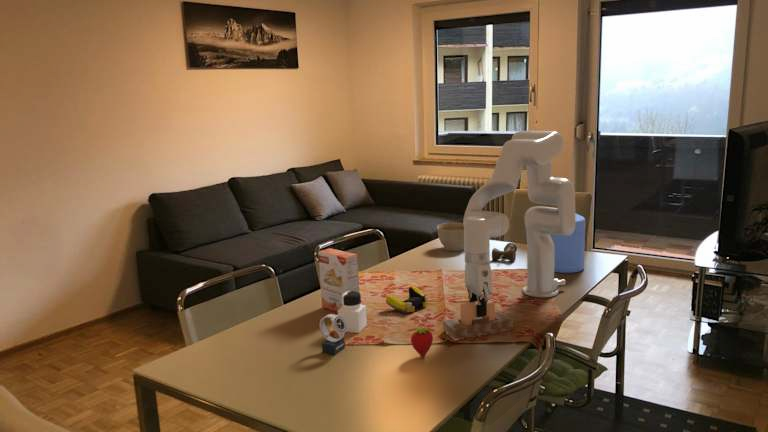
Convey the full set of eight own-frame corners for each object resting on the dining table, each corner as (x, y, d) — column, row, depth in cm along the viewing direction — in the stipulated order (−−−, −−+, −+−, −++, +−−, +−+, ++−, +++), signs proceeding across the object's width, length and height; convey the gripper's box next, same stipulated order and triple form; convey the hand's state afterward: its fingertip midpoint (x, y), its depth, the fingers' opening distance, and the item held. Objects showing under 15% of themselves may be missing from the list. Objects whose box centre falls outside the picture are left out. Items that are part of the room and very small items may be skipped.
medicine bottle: (367, 325, 201) (365, 290, 199) (359, 333, 195) (357, 297, 192) (346, 323, 204) (344, 288, 201) (338, 331, 197) (336, 295, 195)
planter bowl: (436, 253, 282) (435, 230, 280) (438, 244, 298) (438, 222, 295) (471, 253, 279) (471, 230, 277) (472, 244, 295) (472, 222, 293)
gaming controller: (383, 310, 214) (404, 317, 207) (383, 295, 213) (404, 301, 206) (412, 298, 225) (434, 304, 218) (412, 284, 224) (433, 289, 217)
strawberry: (407, 360, 174) (406, 327, 172) (418, 349, 181) (417, 317, 179) (426, 363, 172) (425, 329, 170) (437, 353, 178) (436, 320, 176)
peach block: (489, 326, 196) (489, 299, 194) (495, 329, 193) (494, 302, 191) (461, 331, 193) (460, 304, 191) (466, 335, 190) (465, 307, 188)
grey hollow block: (499, 321, 200) (499, 310, 199) (512, 329, 192) (512, 319, 192) (443, 331, 193) (443, 321, 193) (454, 341, 186) (454, 330, 185)
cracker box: (321, 308, 219) (317, 251, 215) (333, 303, 223) (330, 247, 219) (348, 316, 209) (345, 257, 205) (361, 311, 214) (358, 253, 209)
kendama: (522, 254, 276) (511, 266, 258) (501, 253, 280) (488, 264, 263) (522, 241, 275) (511, 252, 257) (500, 240, 279) (488, 251, 262)
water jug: (588, 265, 255) (590, 198, 249) (578, 275, 242) (579, 205, 236) (551, 260, 263) (552, 196, 257) (539, 270, 250) (539, 202, 244)
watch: (340, 356, 179) (338, 320, 177) (317, 351, 183) (314, 316, 180) (350, 349, 184) (348, 314, 181) (328, 344, 188) (325, 310, 185)
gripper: (502, 262, 181) (502, 321, 185) (475, 248, 197) (476, 303, 201) (479, 265, 179) (480, 325, 183) (453, 251, 195) (455, 307, 198)
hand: (477, 313), depth 192 cm, fingers open, 4 cm apart
